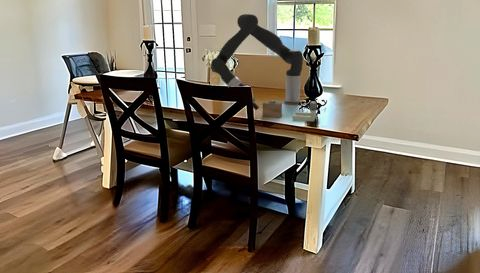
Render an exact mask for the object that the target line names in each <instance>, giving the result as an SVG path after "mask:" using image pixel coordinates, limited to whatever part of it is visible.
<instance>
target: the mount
mask: <svg viewBox="0 0 480 273" xmlns="http://www.w3.org/2000/svg"><path fill="white" fill-rule="evenodd" d="M316 118H317V109H316V110H310V112H309V111H308V112H306V111H295V114H293V115H292V120H293V121H299V122H300V121H302V122H315V120H316Z"/></svg>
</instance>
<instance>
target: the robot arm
mask: <svg viewBox="0 0 480 273" xmlns="http://www.w3.org/2000/svg"><path fill="white" fill-rule="evenodd" d="M236 22H237V26H238V27H239V28H240V29H239V30H238V31H237V32H236V33H235V34H233V36H232V37H231V38H229V39H228V40H227V41H226V43H224V45H223V46H222V48H221V49H220V51H219V52H218V55H216V57H214V58H213V59H212V60H211V64H210V70H211V71H212V73H216V74H218V75H219V77H220V78H221V80H222V81H223V83H224V84H226V86H227V87H228V86H246V85H245V84H244V83H243V82H242V80H240V78H238V77H237V76H236V75H235V74H234V73H233V71H231V70H230V68H229V66H228V65H227V63H228V61H229V60H230V59H231V57H232V56H233V55H234V54H235V52H236V50H237V49H238V48H239V47H240V46H241V45H242V44H243V42H245V40H246V39H247V38H248V37H249V36H252V37H253V38H255V39H256V40H258V41H259V42H260V43H261V44H262V45H263V46H264V47H266V48H267V49H269V50H270V51H272V52H273V53H275V54H276V55H278V56H279V57H280V58H281V59H282V60H283V61H284V62H285V63H286V64H289V65H290V68H289V69H286V74H285V102H287V103H300V100H301V99H300V94H301V74H302V70H303V64H304V63H303V60H304V57H303V52H302V51H301V50H296V49H292V48H289V47H287V46H286V45H284V43H283V41H282V39H281V38H280V37H279V36H278V35H277V34H276V33H275V32H273V31H272V30H269V29H268V28H265V27H263V26H261V25H259V18H258V16H256V15H255V14H252V13H251V14H250V13H248V14H247V13H244V14H241V15H239V16H238V17H237V21H236ZM252 108H253V109H254V110H255V111H257V110H258V109H259V108H260V107H259V105H258V104H257V103H256V100H255V98H254V97H253V107H252Z"/></svg>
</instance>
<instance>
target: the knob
mask: <svg viewBox="0 0 480 273" xmlns="http://www.w3.org/2000/svg"><path fill="white" fill-rule="evenodd" d="M317 107H318V105H317V102H316V101H310V103H309V110H310V111H311V110H316V111H317Z"/></svg>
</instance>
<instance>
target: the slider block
mask: <svg viewBox="0 0 480 273" xmlns="http://www.w3.org/2000/svg"><path fill="white" fill-rule="evenodd" d="M282 112H283V102H281V101H276V100H274V99H271V100H269V101H267V100H266V101H265V100H264V102H262V118H272V119H281V118H282V116H283V115H282V114H283V113H282Z"/></svg>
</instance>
